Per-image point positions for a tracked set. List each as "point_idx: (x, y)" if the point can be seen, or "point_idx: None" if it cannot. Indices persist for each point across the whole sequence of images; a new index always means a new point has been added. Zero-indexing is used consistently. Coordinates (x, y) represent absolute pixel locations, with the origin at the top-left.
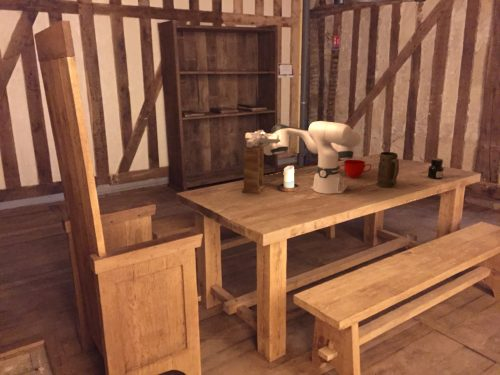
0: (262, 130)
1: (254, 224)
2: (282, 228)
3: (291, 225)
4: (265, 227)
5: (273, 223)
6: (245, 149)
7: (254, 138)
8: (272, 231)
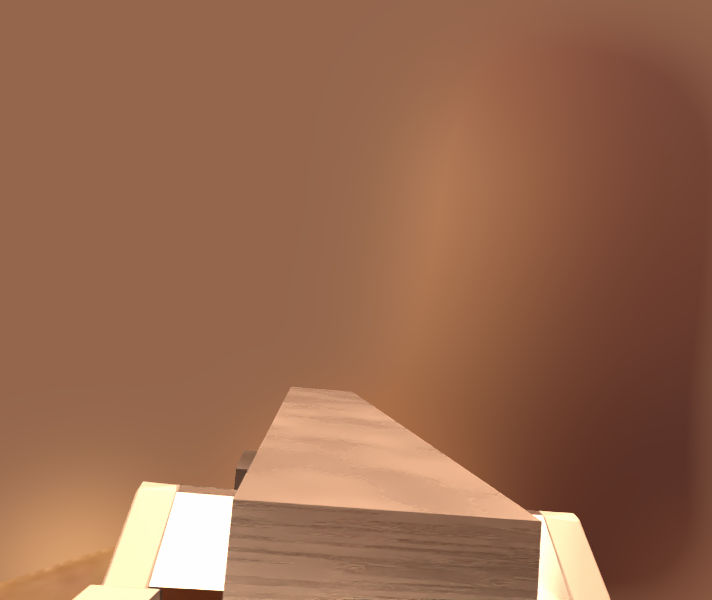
0: (279, 487)
1: None
2: (51, 567)
3: (3, 584)
4: None
5: (81, 590)
6: None
7: (298, 395)
8: (95, 553)
